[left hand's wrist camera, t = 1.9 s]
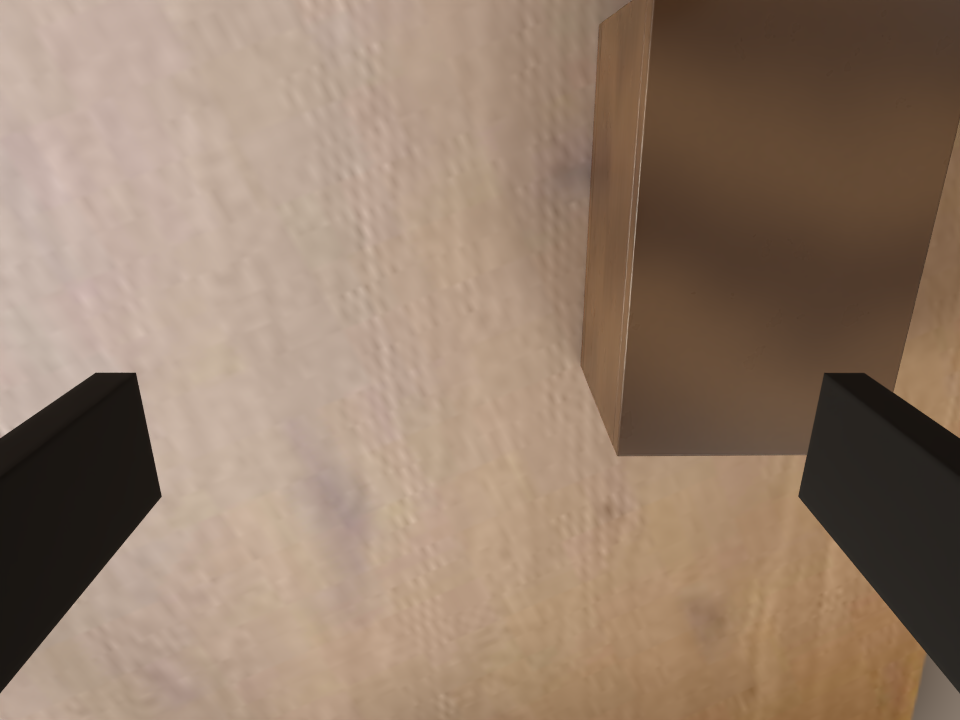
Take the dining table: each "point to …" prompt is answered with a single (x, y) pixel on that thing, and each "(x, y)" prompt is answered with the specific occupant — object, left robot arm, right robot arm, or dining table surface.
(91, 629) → the dining table surface
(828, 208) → the cabinet
